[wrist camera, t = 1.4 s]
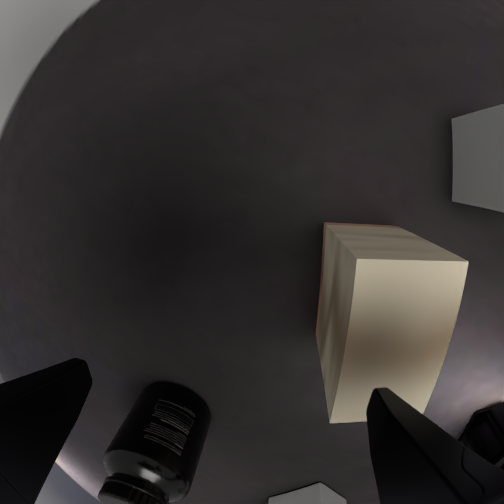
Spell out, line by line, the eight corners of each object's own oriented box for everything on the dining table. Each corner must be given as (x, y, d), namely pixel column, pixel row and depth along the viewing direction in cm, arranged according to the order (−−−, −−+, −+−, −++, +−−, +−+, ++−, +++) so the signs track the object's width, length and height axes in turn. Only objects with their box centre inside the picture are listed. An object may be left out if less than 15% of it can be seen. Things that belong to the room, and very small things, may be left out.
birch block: (380, 333, 20) (423, 413, 12) (315, 333, 21) (329, 423, 12) (395, 225, 18) (468, 261, 10) (323, 222, 19) (356, 258, 10)
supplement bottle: (128, 390, 24) (66, 481, 12) (181, 371, 23) (123, 485, 11) (171, 437, 25) (131, 529, 14) (226, 424, 24) (198, 535, 12)
